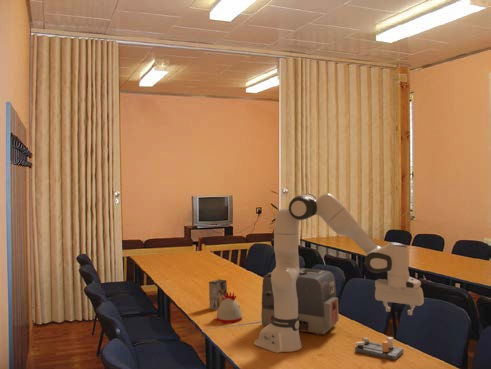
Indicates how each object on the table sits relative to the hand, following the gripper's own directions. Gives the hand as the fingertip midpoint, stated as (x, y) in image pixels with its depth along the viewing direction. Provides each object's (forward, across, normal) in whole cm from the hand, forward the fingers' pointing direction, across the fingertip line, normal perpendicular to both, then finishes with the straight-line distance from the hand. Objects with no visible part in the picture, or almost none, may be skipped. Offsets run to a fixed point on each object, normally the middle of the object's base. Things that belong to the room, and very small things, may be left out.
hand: (399, 313), depth 213 cm
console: (+20, -10, +3) cm, 23 cm away
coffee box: (+19, -115, +19) cm, 118 cm away
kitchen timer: (+19, -96, +5) cm, 98 cm away
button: (+18, -18, +6) cm, 26 cm away
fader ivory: (+18, -6, +6) cm, 20 cm away
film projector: (+20, -56, +14) cm, 61 cm away
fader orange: (+17, -6, 0) cm, 19 cm away
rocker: (+17, -18, 0) cm, 24 cm away
